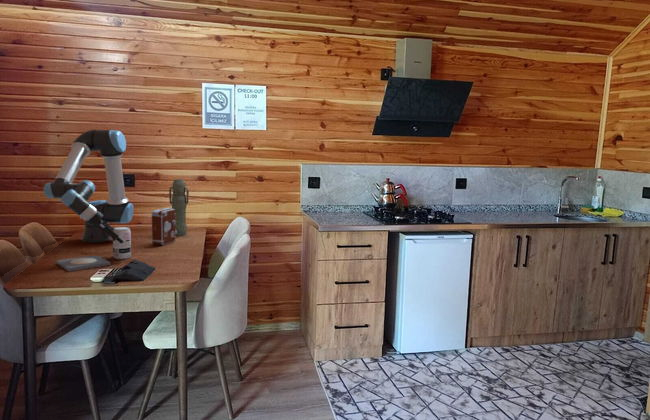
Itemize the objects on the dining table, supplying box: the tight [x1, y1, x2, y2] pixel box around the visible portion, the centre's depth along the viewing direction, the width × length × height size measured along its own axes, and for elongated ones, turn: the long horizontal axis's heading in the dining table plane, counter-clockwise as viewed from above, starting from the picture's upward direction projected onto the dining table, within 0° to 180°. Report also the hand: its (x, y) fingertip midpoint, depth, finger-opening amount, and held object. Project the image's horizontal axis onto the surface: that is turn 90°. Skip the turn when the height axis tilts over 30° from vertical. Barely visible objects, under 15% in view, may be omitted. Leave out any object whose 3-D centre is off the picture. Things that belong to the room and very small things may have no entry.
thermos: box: [168, 178, 190, 237], centre depth 297 cm, size 9×12×35 cm
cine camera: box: [151, 207, 177, 246], centre depth 275 cm, size 9×19×20 cm, turn 166°
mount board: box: [56, 254, 111, 272], centre depth 223 cm, size 18×18×2 cm
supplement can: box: [112, 226, 132, 260], centre depth 237 cm, size 8×8×15 cm
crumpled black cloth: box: [112, 259, 156, 282], centre depth 209 cm, size 15×22×5 cm
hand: (126, 243), depth 238 cm, fingers open, 13 cm apart
